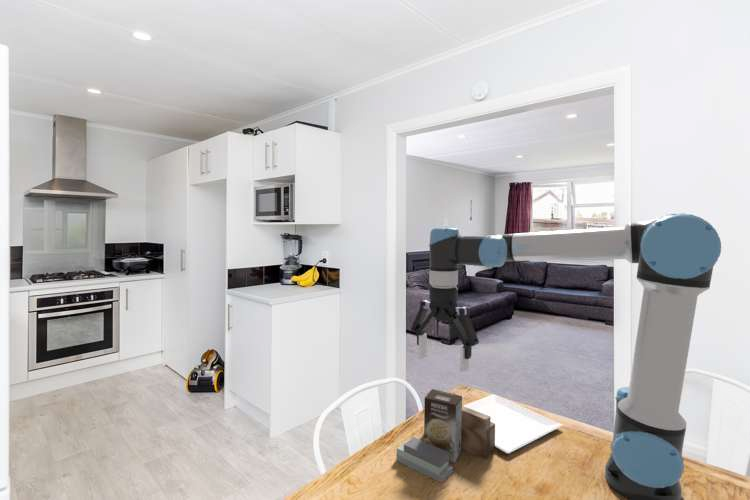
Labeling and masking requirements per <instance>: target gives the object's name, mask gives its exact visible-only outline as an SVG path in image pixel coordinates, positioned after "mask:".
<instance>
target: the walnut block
mask: <svg viewBox="0 0 750 500" xmlns="http://www.w3.org/2000/svg"><path fill="white" fill-rule="evenodd" d="M490 419H491V416H488V415H485V414H483V413H480V412H477V411H475V410H472V409H469V408H467V407H464V405H462V429H461V450H462V449H463V450H464V451H467V452H469V453H471V454H473V455H476V456H477V457H480V458H482V459H484V460H487V459H488V458H490V456H491V455H493V454H494V453H495V451H496V450H495V449H496V447H495V423H493V422H490Z"/></svg>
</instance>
